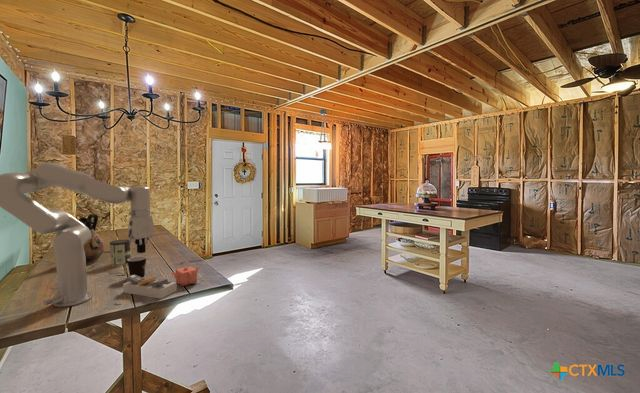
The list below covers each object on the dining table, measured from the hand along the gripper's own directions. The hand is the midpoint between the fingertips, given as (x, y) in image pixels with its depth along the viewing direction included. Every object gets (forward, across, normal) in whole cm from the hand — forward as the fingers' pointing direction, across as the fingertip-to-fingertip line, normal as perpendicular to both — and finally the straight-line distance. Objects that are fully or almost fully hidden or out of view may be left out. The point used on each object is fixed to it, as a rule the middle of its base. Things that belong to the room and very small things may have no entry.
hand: (141, 252), depth 130 cm
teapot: (+19, +15, -12) cm, 27 cm away
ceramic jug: (+20, +25, +73) cm, 80 cm away
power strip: (+19, +1, -1) cm, 19 cm away
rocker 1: (+13, 0, +4) cm, 13 cm away
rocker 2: (+13, 0, -4) cm, 13 cm away
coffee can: (+19, +28, +50) cm, 60 cm away
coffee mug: (+19, +15, +20) cm, 31 cm away
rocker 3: (+13, 0, -10) cm, 17 cm away
